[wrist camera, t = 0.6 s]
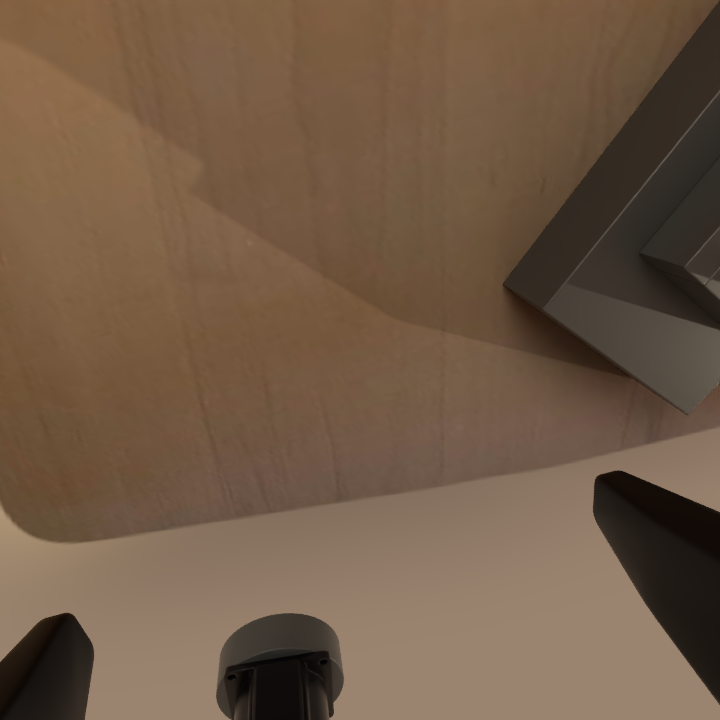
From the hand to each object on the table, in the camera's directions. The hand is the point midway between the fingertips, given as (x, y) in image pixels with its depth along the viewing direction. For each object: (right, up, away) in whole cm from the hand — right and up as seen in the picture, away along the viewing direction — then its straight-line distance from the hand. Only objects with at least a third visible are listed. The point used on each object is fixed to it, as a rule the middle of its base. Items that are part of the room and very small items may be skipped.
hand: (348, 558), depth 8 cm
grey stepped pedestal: (+15, +10, +14) cm, 23 cm away
